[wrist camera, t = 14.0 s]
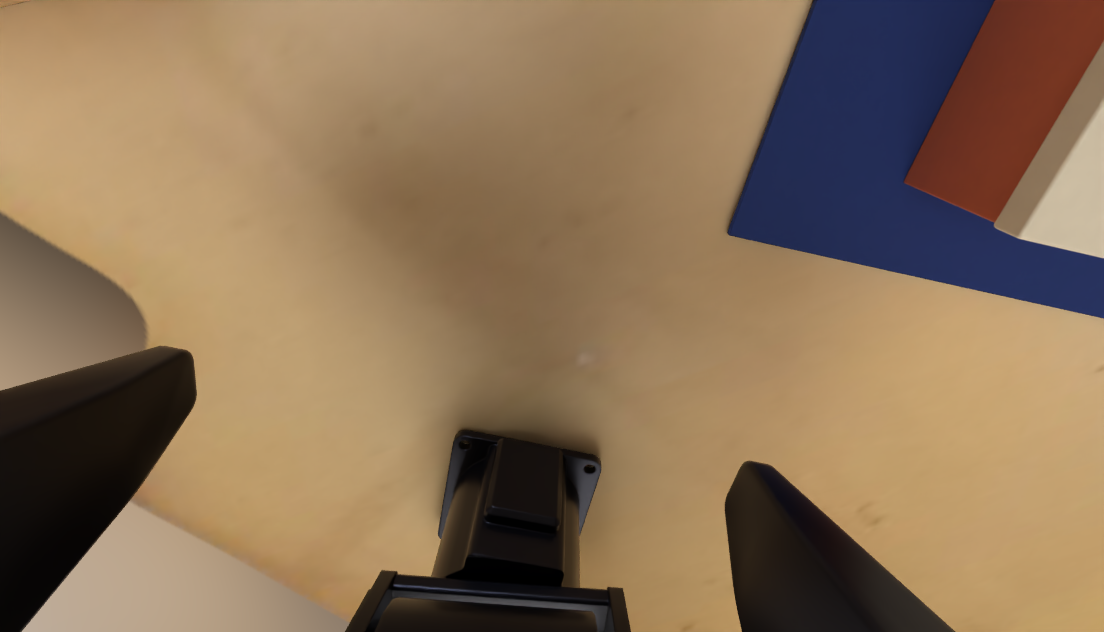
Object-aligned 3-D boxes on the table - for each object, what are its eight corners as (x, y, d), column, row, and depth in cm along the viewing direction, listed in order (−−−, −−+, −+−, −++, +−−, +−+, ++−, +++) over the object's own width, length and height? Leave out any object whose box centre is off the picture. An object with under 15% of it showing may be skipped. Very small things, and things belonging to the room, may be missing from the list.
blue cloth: (1137, 324, 21) (1145, 327, 20) (726, 232, 20) (728, 235, 19) (1582, -243, 14) (1602, -248, 13) (972, -428, 13) (981, -438, 12)
